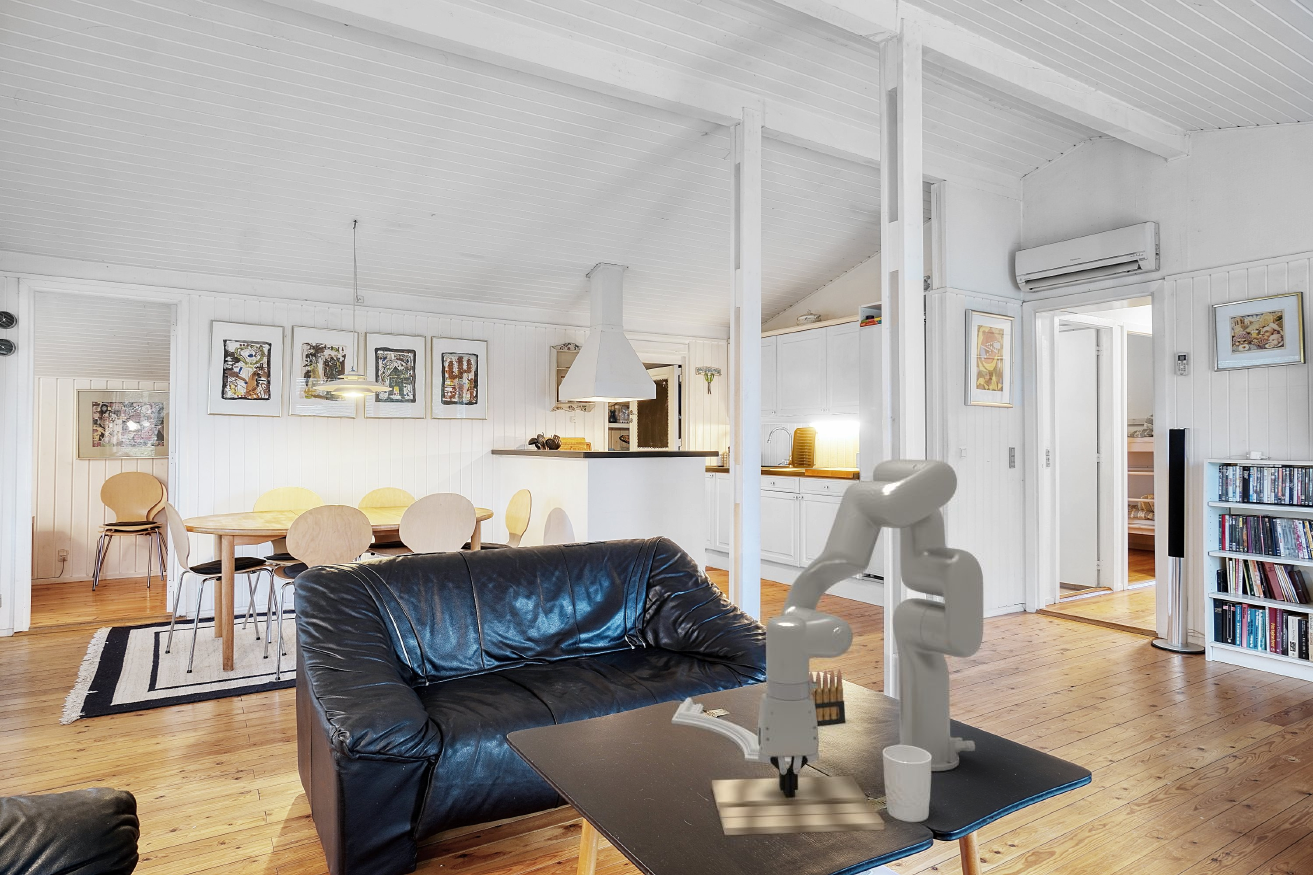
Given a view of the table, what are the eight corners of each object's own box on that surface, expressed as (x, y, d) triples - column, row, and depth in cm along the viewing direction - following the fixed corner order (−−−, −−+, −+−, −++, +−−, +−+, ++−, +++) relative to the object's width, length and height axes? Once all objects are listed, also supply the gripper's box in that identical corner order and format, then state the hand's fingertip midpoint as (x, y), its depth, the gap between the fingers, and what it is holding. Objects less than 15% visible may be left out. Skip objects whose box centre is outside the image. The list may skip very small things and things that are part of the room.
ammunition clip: (841, 720, 176) (840, 667, 176) (845, 723, 174) (844, 669, 174) (798, 725, 173) (798, 671, 173) (802, 728, 171) (801, 673, 171)
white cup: (878, 802, 134) (877, 744, 135) (923, 802, 134) (923, 744, 134) (890, 824, 127) (889, 762, 127) (939, 824, 126) (938, 763, 127)
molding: (818, 764, 152) (818, 749, 153) (772, 778, 146) (771, 762, 146) (694, 706, 188) (694, 694, 188) (652, 714, 182) (652, 702, 182)
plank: (851, 782, 142) (851, 775, 142) (867, 806, 133) (867, 798, 133) (711, 786, 140) (711, 779, 140) (718, 811, 131) (718, 803, 131)
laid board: (870, 809, 132) (869, 802, 132) (884, 829, 125) (884, 821, 125) (719, 814, 130) (718, 807, 130) (724, 835, 123) (724, 827, 123)
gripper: (824, 681, 139) (824, 783, 139) (742, 683, 139) (742, 785, 138) (835, 694, 132) (836, 802, 131) (749, 696, 131) (750, 804, 131)
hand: (788, 793), depth 135 cm, fingers closed
